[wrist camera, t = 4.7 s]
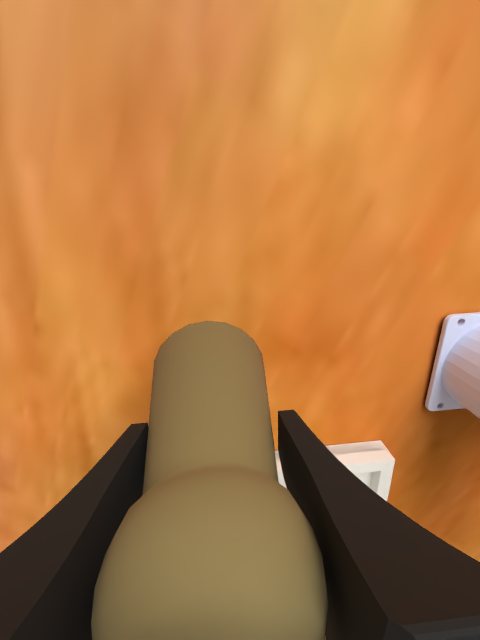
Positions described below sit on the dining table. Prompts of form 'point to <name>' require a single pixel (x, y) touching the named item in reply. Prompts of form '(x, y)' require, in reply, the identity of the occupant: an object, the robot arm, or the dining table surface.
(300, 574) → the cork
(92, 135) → the dining table surface
